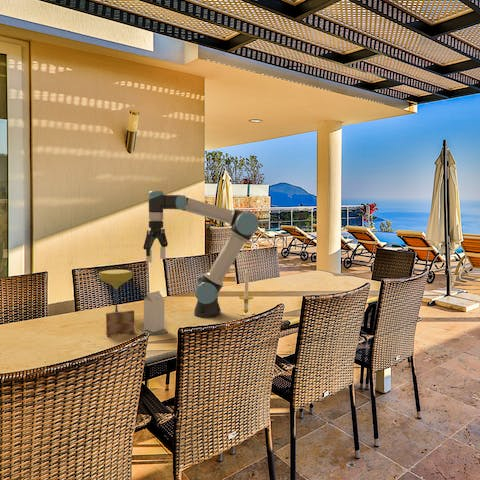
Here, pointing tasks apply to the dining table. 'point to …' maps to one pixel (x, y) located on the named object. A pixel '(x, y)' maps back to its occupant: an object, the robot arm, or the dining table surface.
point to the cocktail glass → (115, 277)
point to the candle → (246, 293)
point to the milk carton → (154, 312)
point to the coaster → (154, 332)
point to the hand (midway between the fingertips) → (156, 260)
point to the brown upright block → (120, 323)
